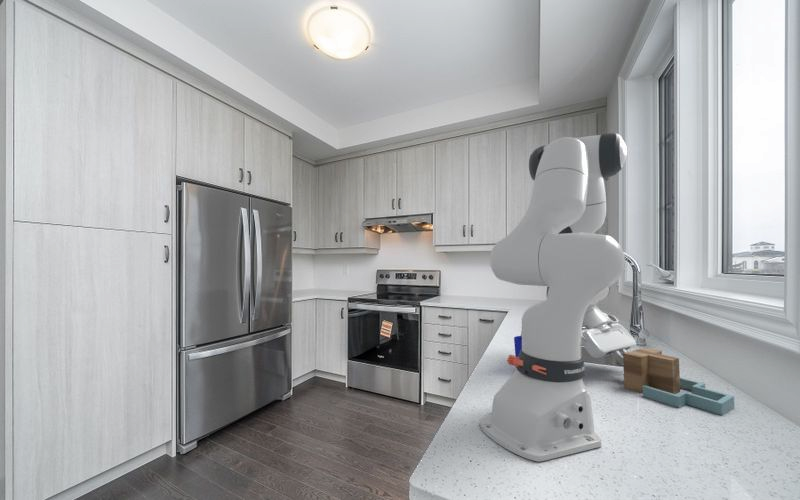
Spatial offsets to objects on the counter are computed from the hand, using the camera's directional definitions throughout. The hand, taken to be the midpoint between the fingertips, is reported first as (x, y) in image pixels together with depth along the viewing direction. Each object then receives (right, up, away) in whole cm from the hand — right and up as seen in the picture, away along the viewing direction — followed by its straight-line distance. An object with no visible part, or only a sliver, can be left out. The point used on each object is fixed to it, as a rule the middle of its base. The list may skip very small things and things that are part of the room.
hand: (630, 366), depth 85 cm
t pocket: (+6, -4, -11) cm, 13 cm away
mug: (-24, -5, +6) cm, 25 cm away
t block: (+3, -4, -5) cm, 7 cm away
